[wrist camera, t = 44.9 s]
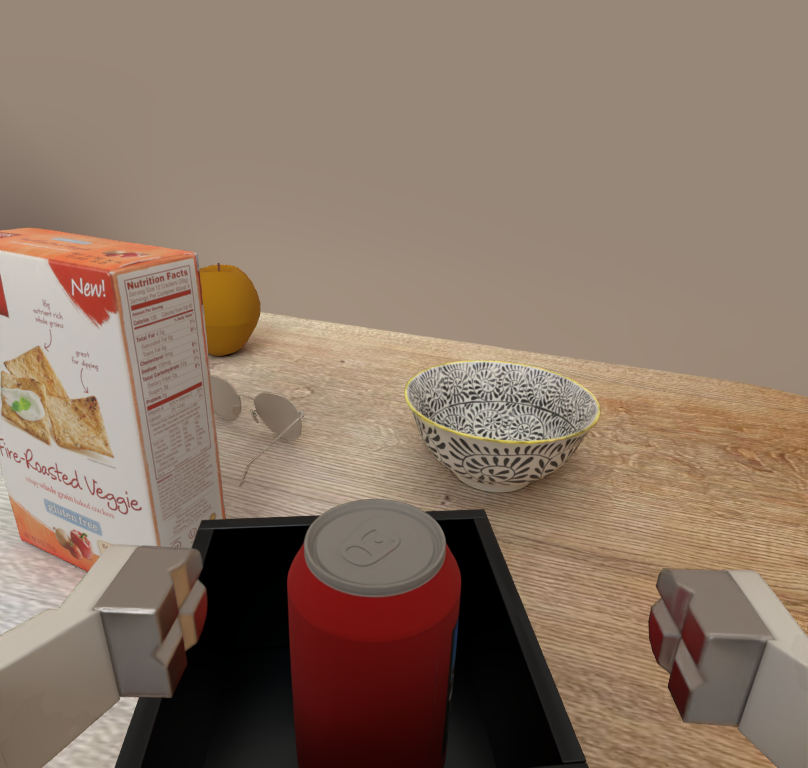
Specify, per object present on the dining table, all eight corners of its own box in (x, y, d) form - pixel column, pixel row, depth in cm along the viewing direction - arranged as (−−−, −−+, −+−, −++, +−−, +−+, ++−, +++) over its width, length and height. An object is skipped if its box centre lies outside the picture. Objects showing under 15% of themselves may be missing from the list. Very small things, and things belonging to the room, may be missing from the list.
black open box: (559, 944, 21) (597, 786, 18) (135, 997, 19) (90, 834, 16) (472, 631, 34) (484, 508, 31) (216, 647, 33) (200, 519, 30)
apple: (262, 363, 74) (256, 271, 70) (181, 366, 72) (169, 271, 68) (264, 339, 83) (259, 256, 78) (192, 341, 81) (183, 256, 77)
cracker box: (14, 546, 40) (-71, 235, 32) (92, 502, 45) (35, 223, 37) (163, 619, 35) (105, 264, 27) (233, 560, 40) (202, 246, 32)
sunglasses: (311, 447, 54) (303, 401, 52) (247, 502, 48) (235, 453, 46) (205, 411, 61) (194, 369, 58) (137, 455, 55) (121, 410, 52)
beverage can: (474, 748, 27) (499, 534, 23) (376, 876, 22) (382, 636, 18) (368, 668, 31) (370, 472, 27) (265, 762, 26) (246, 542, 22)
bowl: (619, 522, 45) (638, 435, 42) (414, 532, 43) (418, 441, 40) (548, 428, 60) (558, 358, 57) (393, 432, 58) (395, 360, 55)
